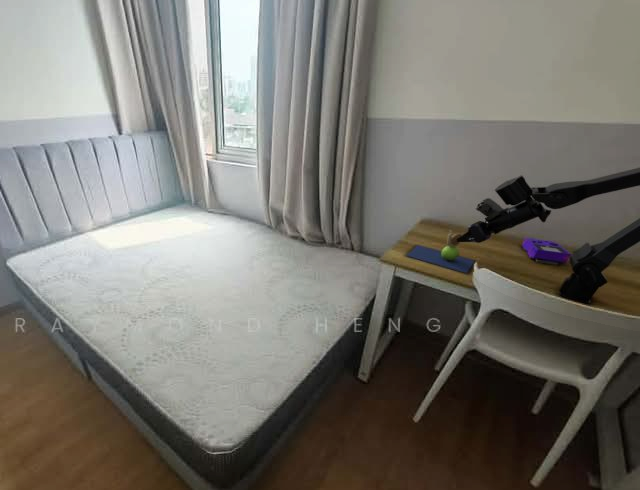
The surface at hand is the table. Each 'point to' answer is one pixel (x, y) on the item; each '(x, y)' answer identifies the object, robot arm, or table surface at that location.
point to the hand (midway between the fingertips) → (463, 237)
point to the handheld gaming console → (545, 251)
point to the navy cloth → (441, 259)
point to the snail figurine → (451, 247)
